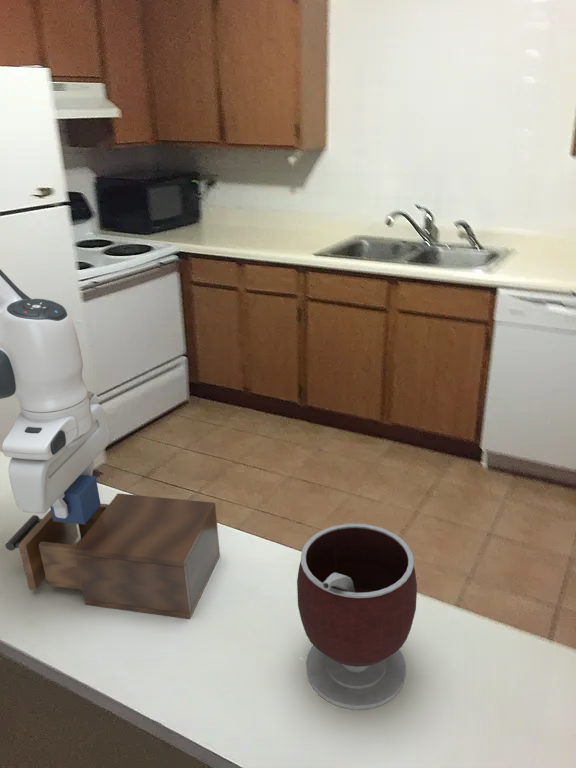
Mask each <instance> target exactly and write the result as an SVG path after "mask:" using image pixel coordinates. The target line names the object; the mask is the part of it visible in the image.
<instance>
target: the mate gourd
mask: <svg viewBox="0 0 576 768" xmlns="http://www.w3.org/2000/svg"><path fill="white" fill-rule="evenodd" d="M296 591H297V593H296V595H297V607H298V613H299V617H300V621H301V624H302V627H303V630H304V632H305V635H306V637H307V639H308V640H309V642H310V643H311V644H312V645H311V647H310V649H309V651H308V653H307V657H306V662H305V663H306V665H305V667H306V675H307V679H308V682H309V683H310V685H311V688H312V689H313V690H314V691H315V692H316V693H317V694H318V695H319V697H321V698H322V699H324V700H325V701H326V702H328V703H330V704H331V705H334V706H337V707H340V708H343V709H346V710H347V709H348V710H355V711H361V710H370V709H374V708H375V709H376V708H378V707H381V706H383V705H385V704H387V703H388V702H391V700H393V699H394V698H395V697H396V696H397V695H398V693H400V692H401V690H402V688H403V686H404V683H405V680H406V670H407V669H406V667H407V666H406V661H405V657H404V655H403V653H402V651H401V650H400V649H401V648H402V647H403V645H405V643H406V641H407V639H408V637H409V634H410V632H411V629H412V625H413V622H414V619H415V615H416V610H417V599H418V598H417V597H418V596H417V595H418V583H417V576H416V569H415V565H414V554H413V552H412V550H411V548H410V547H409V545H408V544H407V543H406V542H405V541H404V540H403V539H402V538H401V537H400V536H399V535H397V534H395V533H393V532H391V531H389V530H387V529H385V528H384V527H383V528H382V527H379V526H377V525H373V524H366V523H343V524H337V525H333V526H330V527H326V528H325V529H322V530H320V531H318V532H317V533H315V534H314V535H312V536H311V537H310V538H309V539H308V540H307V541H306V542H305V543H304V545H303V547H302V550H301V554H300V562H299V566H298V572H297V577H296Z"/></svg>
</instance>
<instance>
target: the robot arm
mask: <svg viewBox="0 0 576 768" xmlns="http://www.w3.org/2000/svg"><path fill="white" fill-rule="evenodd" d="M83 362H84V361H83V356H82V350H81V346H80V341H79V337H78V333H77V329H76V327H75V324H74V321H73V319H72V316H71V314H70V313H69V311H67V309H66V308H65V306H63V305H62V304H60V303H59V302H55V301H53V300H49V299H46V298H45V299H44V298H32V297H30V296H28V295H27V294H25V293H24V292H23V291H22V290H21V289H20V288H19V287H18V286H17V285H16V284H15V283H14V282H13V281H12V280H11V279H10V278H9V276H8V275H6V274H5V272H4V271H3V270H2V269H1V268H0V400H1V399H8V398H10V397H15V398H17V400H18V403H19V407H20V412H19V414H18V415H17V417H16V421H15V422H14V424H13V426H12V428H11V429H10V431H9V433H8V434H7V435H6V437H5V439H4V440H3V442H2V445H1V448H2V454H3V455H4V457H7V458H10V461H9V463H8V477H9V482H10V487H11V492H12V495H13V500H14V502H15V505H16V507H17V508H18V509H19V510H20V511H21V512H24V513H28V514H29V513H30V514H38V515H39V514H45V513H46V512H47V513H48V511H49V509H50V507H51V506H52V507H53V508H54V512H55V516H56V517H58V518H66V517H67V516H68V515H69V514H70V512H71V506H70V502H64V500H63V499H62V498H64V496H65V495H64V492H65V491H66V490H67V489H68V488H69V486H70V485H71V484H72V483H73V482H74V481H75V480H76V479H77V478H78V477H79V476H80V475H86V476H93V472H94V466H95V463H94V461H95V460H96V459H97V457H98V456H99V455H100V454H101V453H102V452H103V451H104V450H105V449H106V448H107V447H108V446H109V444H110V439H111V432H110V427H109V423H108V418H107V416H106V413H105V410H104V408H103V406H102V405H101V404H100V403H99V399H98V395H96V394H95V393H94V392H92V391H88V387H87V385H86V384H85V382H84V379H83V366H84V363H83Z"/></svg>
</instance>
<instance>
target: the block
mask: <svg viewBox="0 0 576 768" xmlns="http://www.w3.org/2000/svg"><path fill="white" fill-rule="evenodd" d="M97 481H98V480H97V476H95V475H92V476H86V475H80V476H79V477H78V478H77V479H76V480H75V481H74V482H73V483H72V484H71V485H70V486H69V488H68V489H67V490H66V491H65V492H64V495H65V496H64V498H62V499H63V500H64V502H70V506H71V512H70V514H69V515H68V516H67V517H66V518H58V517H56V516H55V512H54V508H53V507H52V506H51V507H50V508H49V509H50V510H51V513H52V518H53V521H56V522H65V523H75V524H76V525H78V524H86V522H87V521H88V520H89V519H90V517H91V516H92V515H93V514H94V513H95V511H96V510H97V509H98V508H99V506H100V505H101V504H102V503H101V498H100V493H99V488H98V487H99V486H98V482H97Z"/></svg>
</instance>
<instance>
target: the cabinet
mask: <svg viewBox="0 0 576 768" xmlns="http://www.w3.org/2000/svg"><path fill="white" fill-rule="evenodd" d="M108 504H109V505H108V506H107V508H106V509H105V510H104V512H103V513H102V514H101V515H100V517H99V518H98V519H97V520H96V522H95V523H94V524H93V525H92V527H91V528H90V529H89V531H88V532H87V533H86V534H85V536H84V537H83V538H82V539H81V538H80V539H81V541H80V542H79V541H78V542H79V543H78V542H77V543H78V544H77V543H76V544H77V546H76V547H75V548H74V552H75V557H76V562H77V567H78V572H79V577H80V581H81V586H82V590H81V591H82V596H83V599H84V600H83V601H84V605H86V606H93V607H100V608H108V609H115V610H122V611H130V612H136V613H137V612H138V613H145V614H152V615H159V616H166V617H175V618H182V619H189V620H190V619H191V618H192V616H193V613H194V611H195V609H196V607H197V605H198V603H199V600H200V599H201V596H202V595H203V592H204V591H205V588H206V586H207V584H208V581H210V577H211V576H212V574H213V571H214V569H215V567H216V564H217V563H218V560H219V558H220V557H221V552H220V550H221V549H220V540H219V530H218V520H217V519H218V518H217V509H216V502H210V501H201V500H191V499H181V498H169V497H161V496H149V495H140V494H139V495H138V494H128V493H116V495H115V496H114V497H113V498H112V500H111V501H110V503H108Z"/></svg>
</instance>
